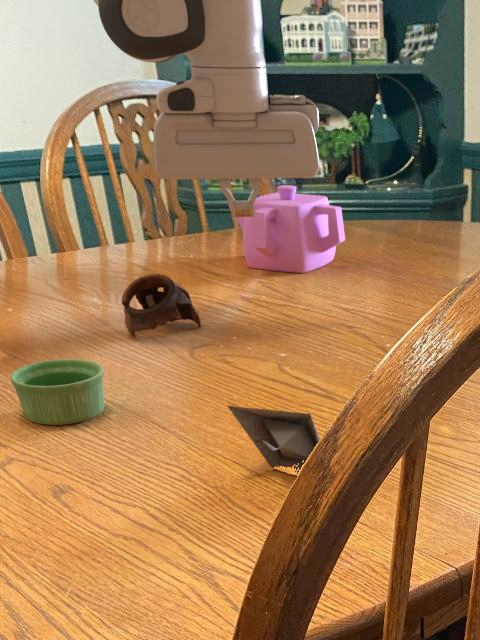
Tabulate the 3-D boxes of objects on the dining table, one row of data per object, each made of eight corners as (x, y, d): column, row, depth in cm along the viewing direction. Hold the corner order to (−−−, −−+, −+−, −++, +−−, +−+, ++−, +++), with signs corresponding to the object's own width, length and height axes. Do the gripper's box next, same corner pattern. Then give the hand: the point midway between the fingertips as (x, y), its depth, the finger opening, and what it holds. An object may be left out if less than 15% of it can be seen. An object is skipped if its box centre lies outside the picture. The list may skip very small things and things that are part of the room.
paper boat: (369, 448, 87) (350, 462, 78) (332, 501, 89) (310, 520, 80) (265, 372, 86) (235, 377, 77) (230, 427, 88) (196, 438, 79)
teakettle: (259, 277, 148) (252, 195, 141) (230, 256, 161) (223, 180, 154) (355, 269, 155) (353, 190, 148) (321, 249, 167) (317, 176, 161)
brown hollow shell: (219, 334, 122) (194, 287, 115) (162, 374, 121) (133, 329, 113) (175, 293, 128) (148, 246, 121) (120, 331, 126) (90, 286, 119)
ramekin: (102, 426, 93) (94, 385, 90) (10, 429, 92) (-1, 387, 89) (116, 396, 100) (109, 357, 98) (31, 399, 99) (21, 359, 97)
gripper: (314, 92, 114) (321, 210, 122) (146, 92, 110) (163, 213, 118) (320, 96, 109) (326, 219, 117) (143, 95, 105) (161, 222, 113)
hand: (243, 216), depth 117 cm, fingers closed
